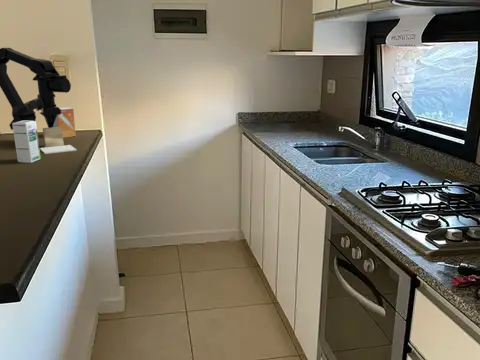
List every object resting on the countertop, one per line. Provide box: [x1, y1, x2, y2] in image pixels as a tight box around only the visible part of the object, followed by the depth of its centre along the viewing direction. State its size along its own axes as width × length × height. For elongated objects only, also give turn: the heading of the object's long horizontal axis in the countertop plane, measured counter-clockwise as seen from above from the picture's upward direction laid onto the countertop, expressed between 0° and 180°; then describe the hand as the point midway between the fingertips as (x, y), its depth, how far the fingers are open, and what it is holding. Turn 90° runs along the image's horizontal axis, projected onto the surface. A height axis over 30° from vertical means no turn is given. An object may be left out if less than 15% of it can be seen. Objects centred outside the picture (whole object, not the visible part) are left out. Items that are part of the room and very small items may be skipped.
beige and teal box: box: [42, 127, 65, 148], centre depth 191 cm, size 3×7×8 cm, turn 123°
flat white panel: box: [39, 144, 77, 155], centre depth 187 cm, size 10×12×1 cm
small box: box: [53, 106, 77, 139], centre depth 212 cm, size 8×6×13 cm
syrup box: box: [12, 120, 42, 164], centre depth 167 cm, size 6×6×14 cm
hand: (50, 129), depth 194 cm, fingers closed
